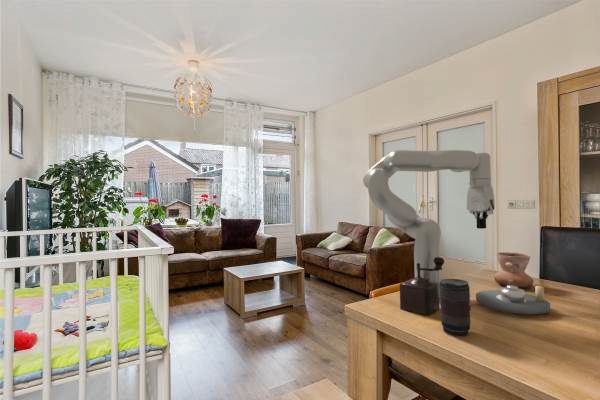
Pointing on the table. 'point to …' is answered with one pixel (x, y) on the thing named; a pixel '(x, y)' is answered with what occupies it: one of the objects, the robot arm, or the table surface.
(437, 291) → the manual coffee grinder
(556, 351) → the table surface
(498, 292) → the turntable
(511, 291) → the cover
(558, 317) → the table surface
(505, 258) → the ceramic jug
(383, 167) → the robot arm
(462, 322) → the camera lens
